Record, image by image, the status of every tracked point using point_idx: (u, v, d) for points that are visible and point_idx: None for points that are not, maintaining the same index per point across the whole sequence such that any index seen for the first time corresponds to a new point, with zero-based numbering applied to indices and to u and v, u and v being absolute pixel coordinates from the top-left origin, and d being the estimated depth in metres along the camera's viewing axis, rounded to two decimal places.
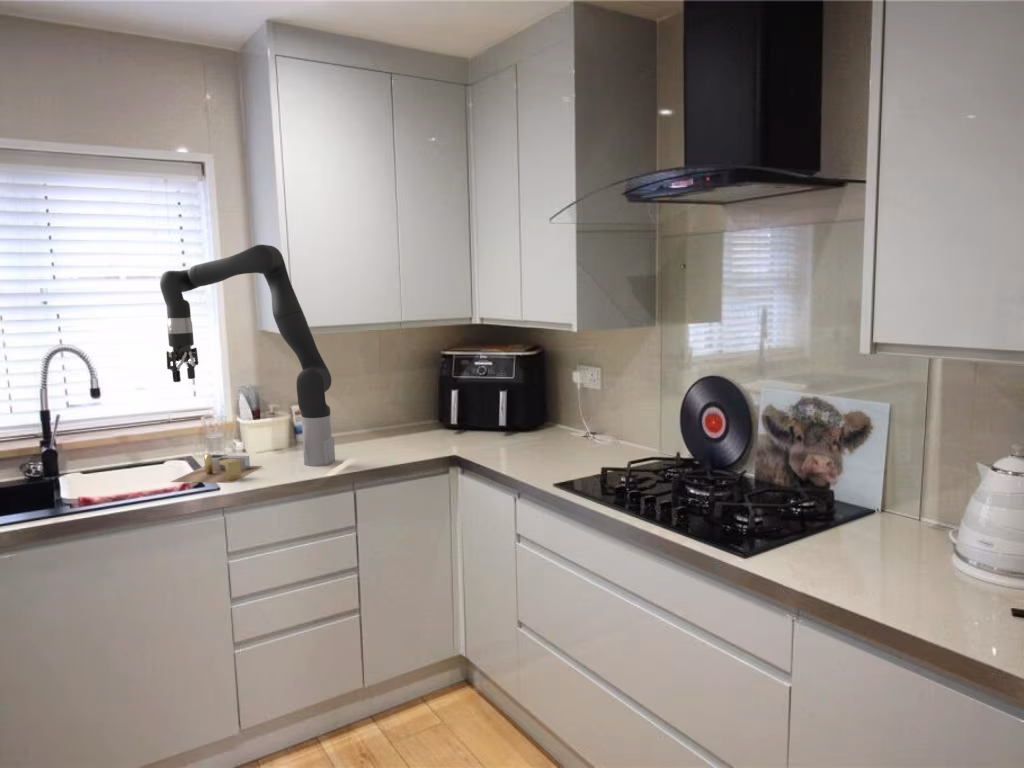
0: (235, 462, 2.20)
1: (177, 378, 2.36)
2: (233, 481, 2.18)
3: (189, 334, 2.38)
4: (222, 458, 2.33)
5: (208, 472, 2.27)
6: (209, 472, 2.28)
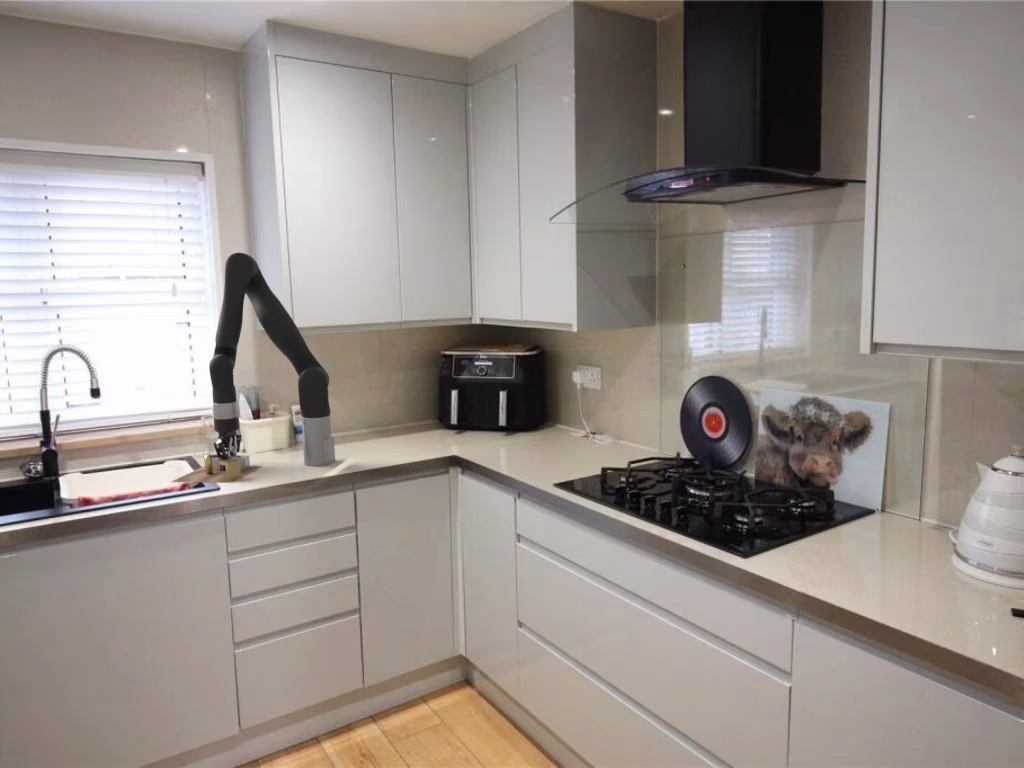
0: (235, 462, 2.20)
1: None
2: (233, 481, 2.18)
3: (235, 419, 2.31)
4: None
5: (208, 472, 2.27)
6: (209, 472, 2.28)
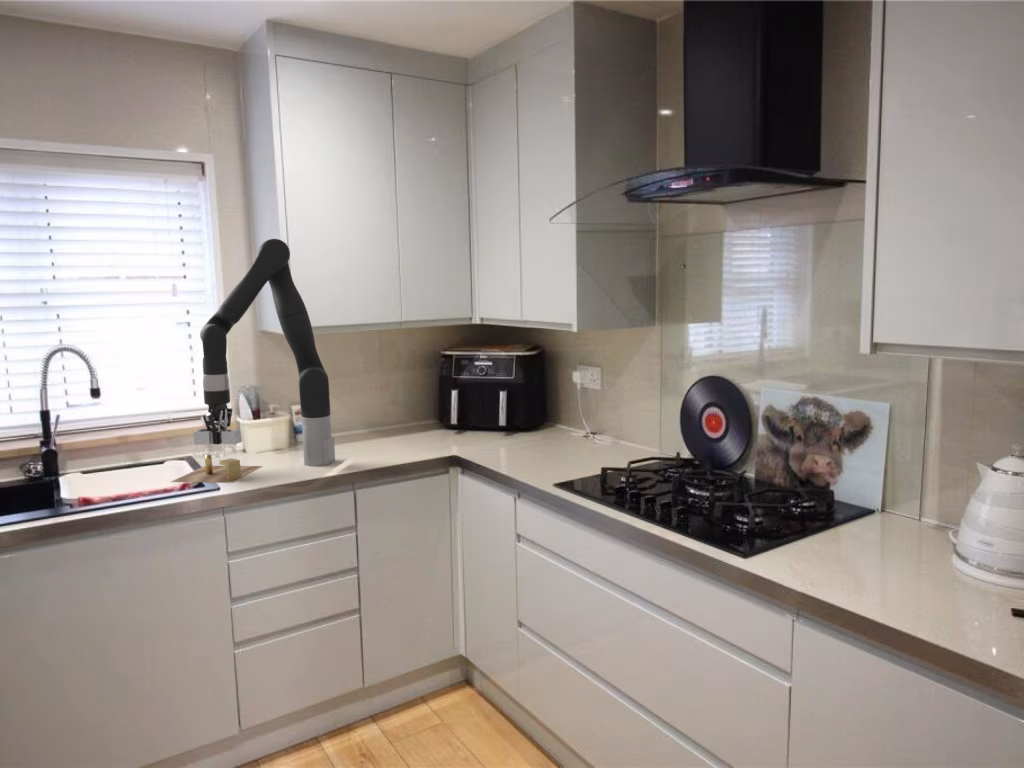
0: (235, 462, 2.20)
1: (217, 440, 2.24)
2: (233, 481, 2.18)
3: (226, 391, 2.23)
4: None
5: (208, 472, 2.27)
6: (209, 472, 2.28)
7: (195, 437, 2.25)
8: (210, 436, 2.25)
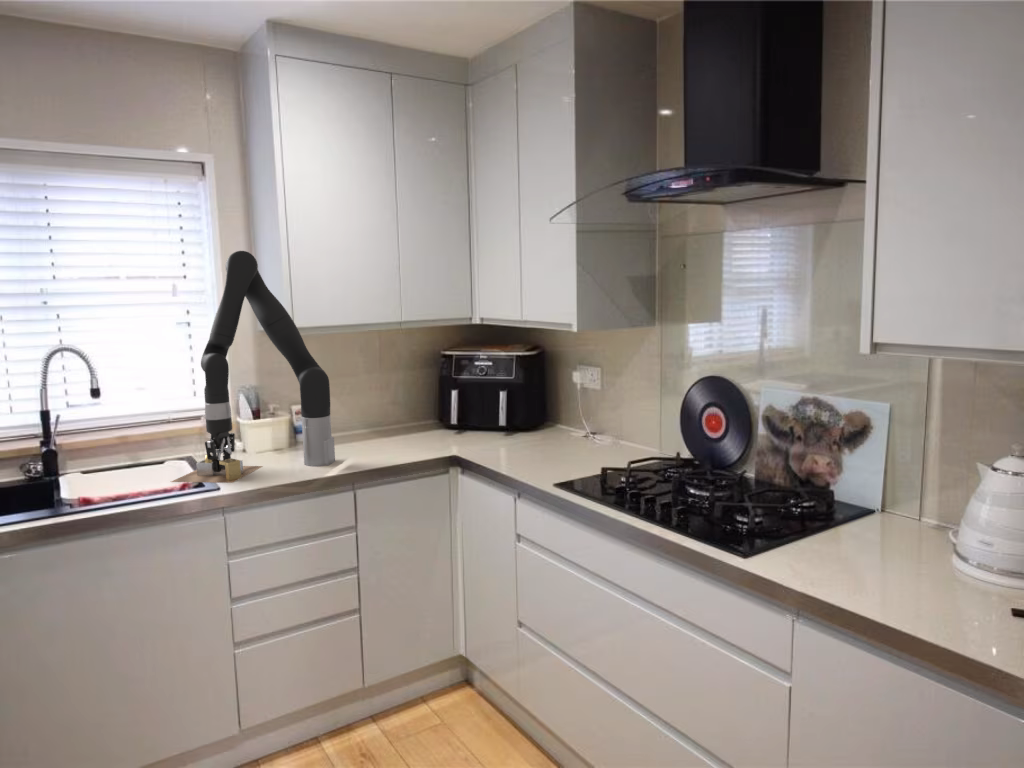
0: (235, 462, 2.20)
1: (218, 468, 2.24)
2: (233, 481, 2.18)
3: (228, 419, 2.24)
4: None
5: None
6: None
7: (198, 468, 2.26)
8: None
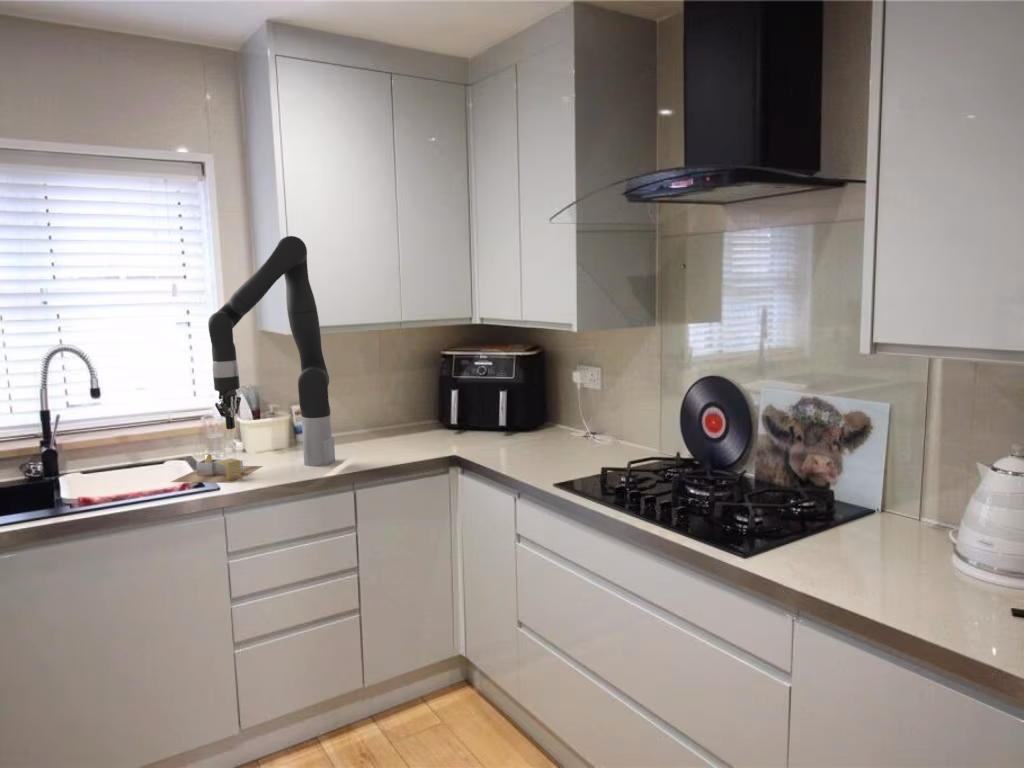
0: (235, 462, 2.20)
1: (230, 425, 2.30)
2: (233, 481, 2.18)
3: (236, 377, 2.28)
4: (215, 463, 2.26)
5: None
6: None
7: (198, 468, 2.26)
8: (213, 467, 2.26)
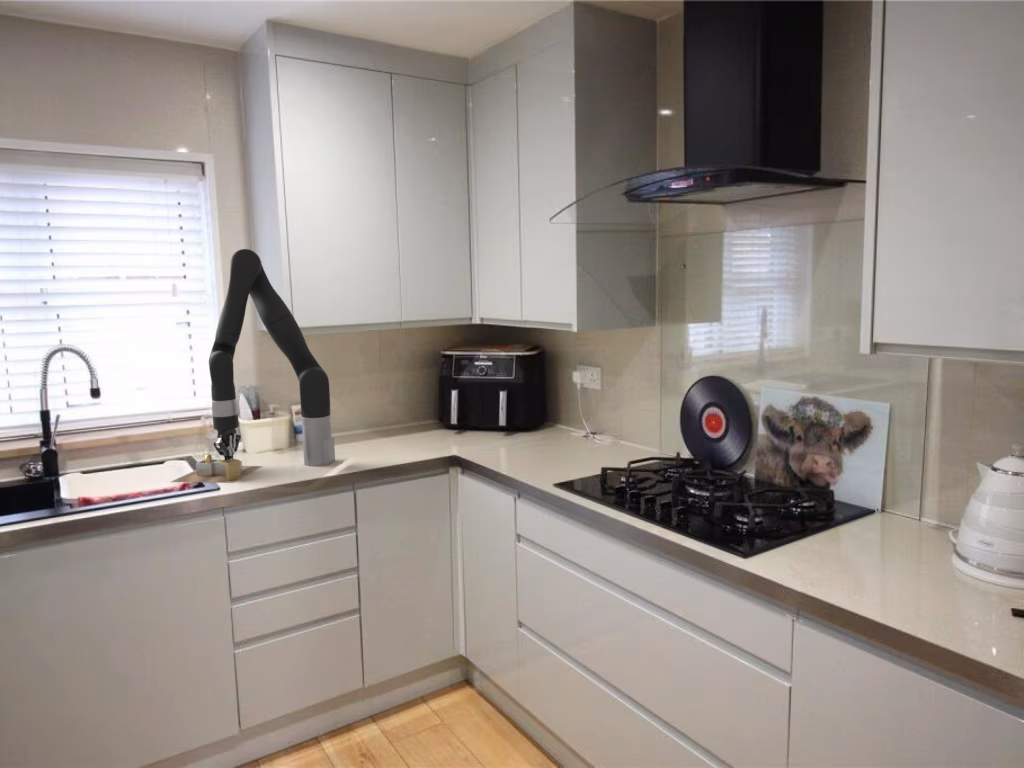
0: (235, 462, 2.20)
1: None
2: (233, 481, 2.18)
3: (234, 416, 2.27)
4: (214, 463, 2.26)
5: None
6: None
7: (198, 468, 2.26)
8: (212, 467, 2.26)
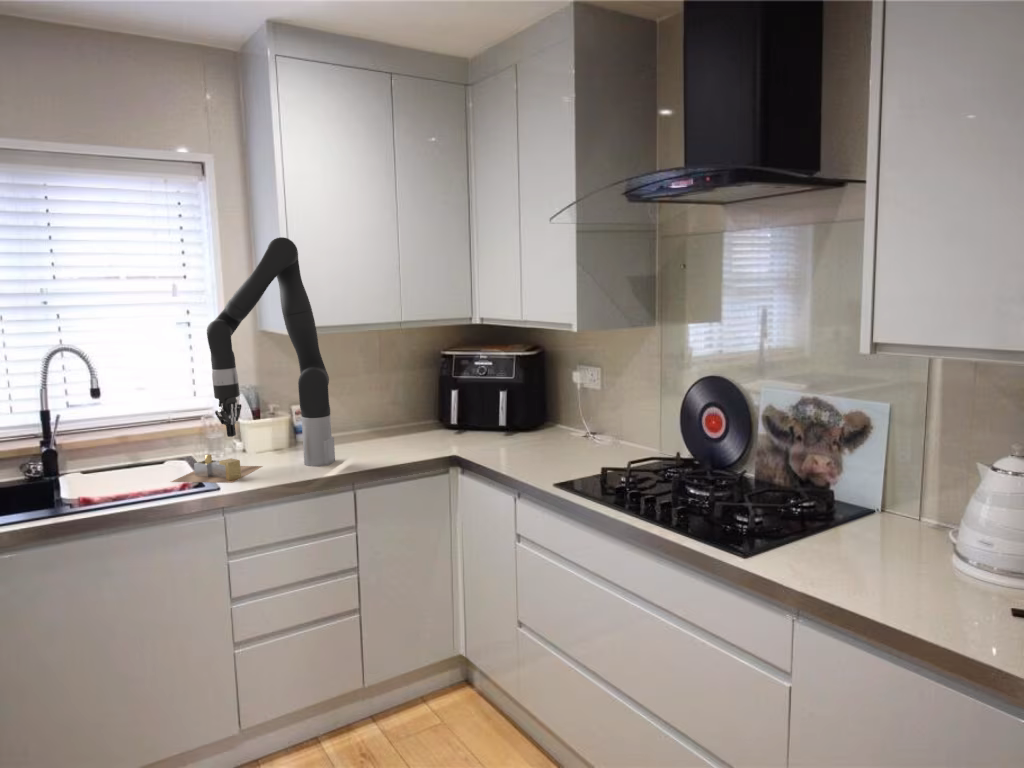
0: (235, 462, 2.20)
1: (231, 433, 2.30)
2: (233, 481, 2.18)
3: (235, 385, 2.28)
4: (210, 464, 2.25)
5: None
6: None
7: (196, 469, 2.26)
8: (208, 468, 2.24)
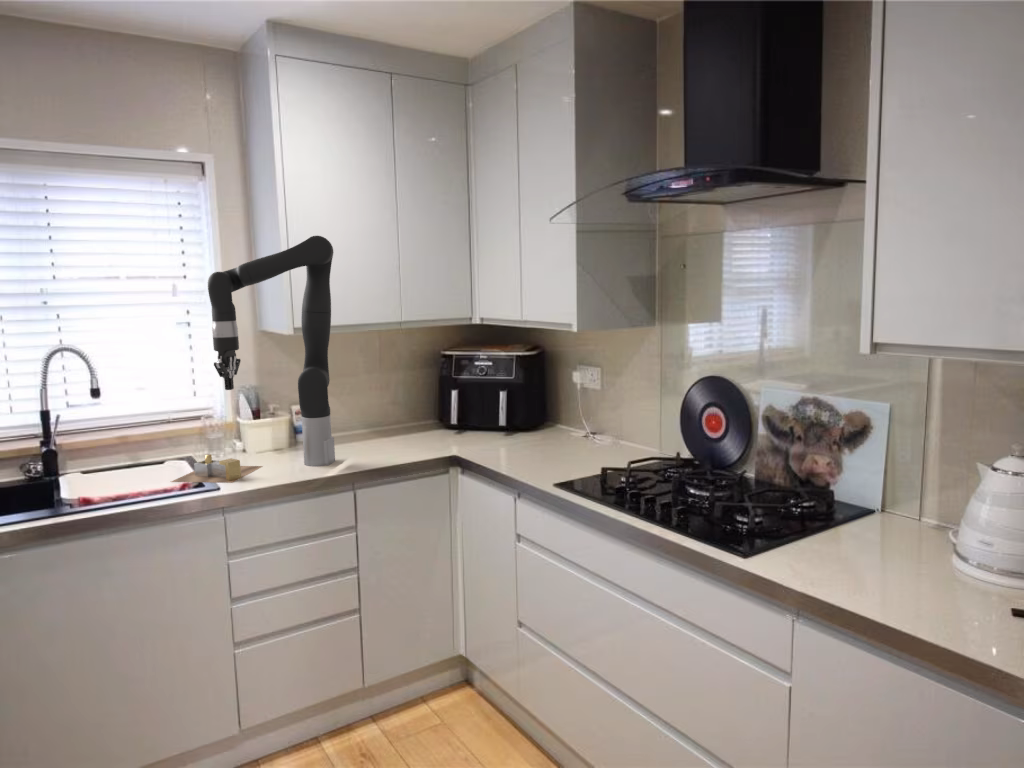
0: (235, 462, 2.20)
1: (229, 386, 2.30)
2: (233, 481, 2.18)
3: (235, 338, 2.28)
4: (210, 464, 2.25)
5: None
6: None
7: (196, 469, 2.26)
8: (208, 468, 2.24)
